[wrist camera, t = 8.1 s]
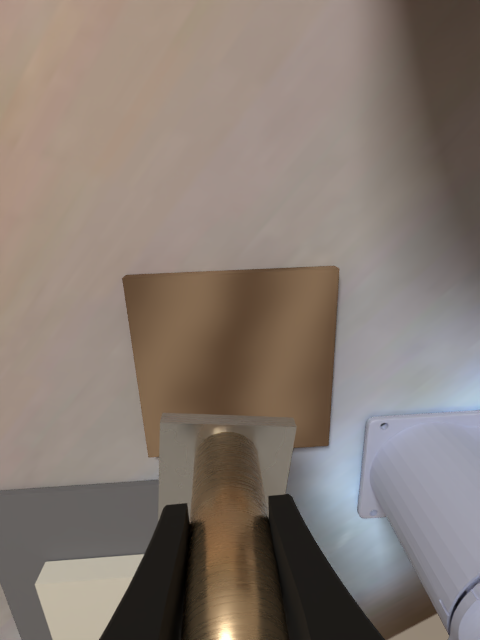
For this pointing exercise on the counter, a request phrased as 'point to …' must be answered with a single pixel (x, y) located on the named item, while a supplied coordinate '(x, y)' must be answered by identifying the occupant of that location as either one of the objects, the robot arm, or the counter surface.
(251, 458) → the stamp with brass handle
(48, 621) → the tile
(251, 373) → the board
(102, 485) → the mat
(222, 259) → the counter surface
